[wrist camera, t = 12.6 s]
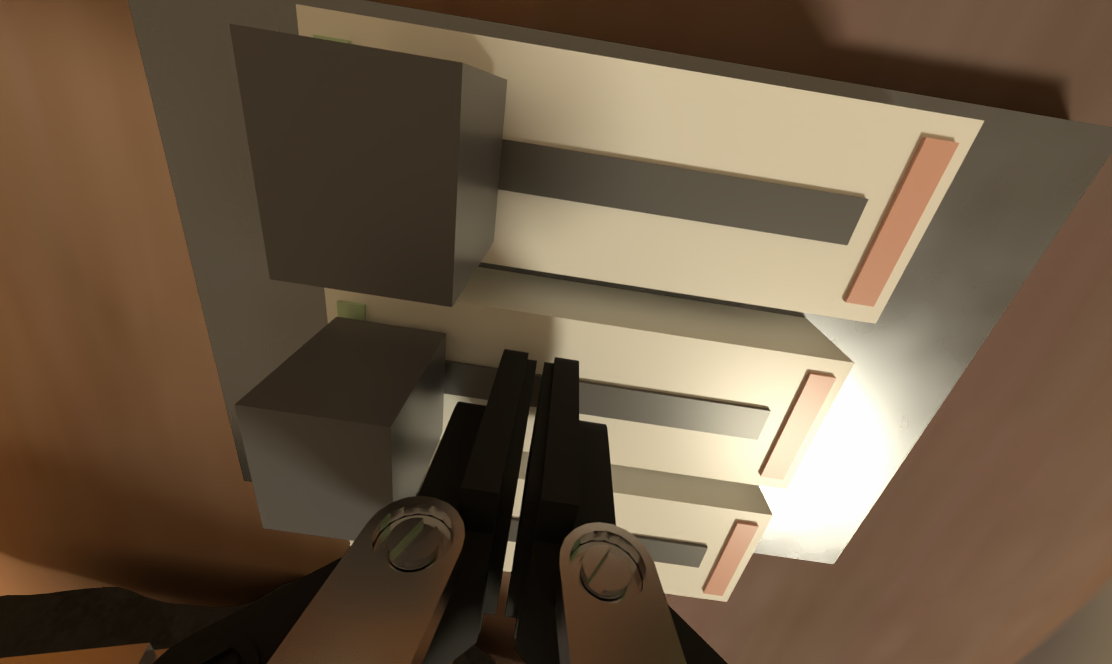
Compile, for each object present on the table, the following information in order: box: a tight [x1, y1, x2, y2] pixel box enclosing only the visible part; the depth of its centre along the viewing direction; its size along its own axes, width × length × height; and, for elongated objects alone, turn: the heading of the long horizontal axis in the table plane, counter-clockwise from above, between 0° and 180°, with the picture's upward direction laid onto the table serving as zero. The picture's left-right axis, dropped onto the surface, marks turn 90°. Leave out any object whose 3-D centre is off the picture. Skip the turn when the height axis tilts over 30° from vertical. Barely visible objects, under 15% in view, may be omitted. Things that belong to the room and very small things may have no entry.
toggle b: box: [234, 317, 446, 541], centre depth 9 cm, size 3×2×3 cm
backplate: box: [128, 0, 1112, 564], centre depth 13 cm, size 15×22×1 cm
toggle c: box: [229, 24, 507, 307], centre depth 7 cm, size 3×2×3 cm
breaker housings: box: [296, 4, 984, 602], centre depth 12 cm, size 14×12×2 cm
